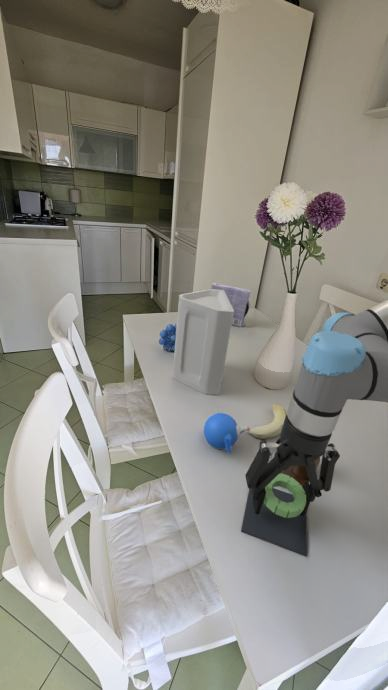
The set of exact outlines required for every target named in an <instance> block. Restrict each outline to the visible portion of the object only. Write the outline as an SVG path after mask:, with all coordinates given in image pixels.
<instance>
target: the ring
mask: <svg viewBox="0 0 388 690" xmlns="http://www.w3.org/2000/svg"><path fill="white" fill-rule="evenodd" d="M299 484H300V483H299V482H297V481H296V480H295V479H293V478H292V477H291V478H290V476H288V475H285V474H282V473H281V474H278V475H277V476H276V477H275V478H274V479H273V480H272V481H271V482H270V483H269V484H268V485H267V486H266V487H265V490H266V494H265V497H264V501H263V502H264V504H266V506H267V507H268V508H269V509H270V510H271V511H272V512H273V513H275V512H276V513H275V514H276V515H279V516H282V517H285V518H286V516H287V518H291V517H297V516H299V514H300V513H301V512H302V511H303V510H304V507H305V505H306V494H305V491H304V489H303V488H302V486H301V485H299ZM278 487H279V488H283V489H286V490H287V491H288V492H289V493H290V494H292V495H293V497H294V501H293V502H289V503H286V502H283V501H280V500H279V499H278V498H277V497H276V496H274V493H273V491H272V489H273V488H278Z"/></svg>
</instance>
